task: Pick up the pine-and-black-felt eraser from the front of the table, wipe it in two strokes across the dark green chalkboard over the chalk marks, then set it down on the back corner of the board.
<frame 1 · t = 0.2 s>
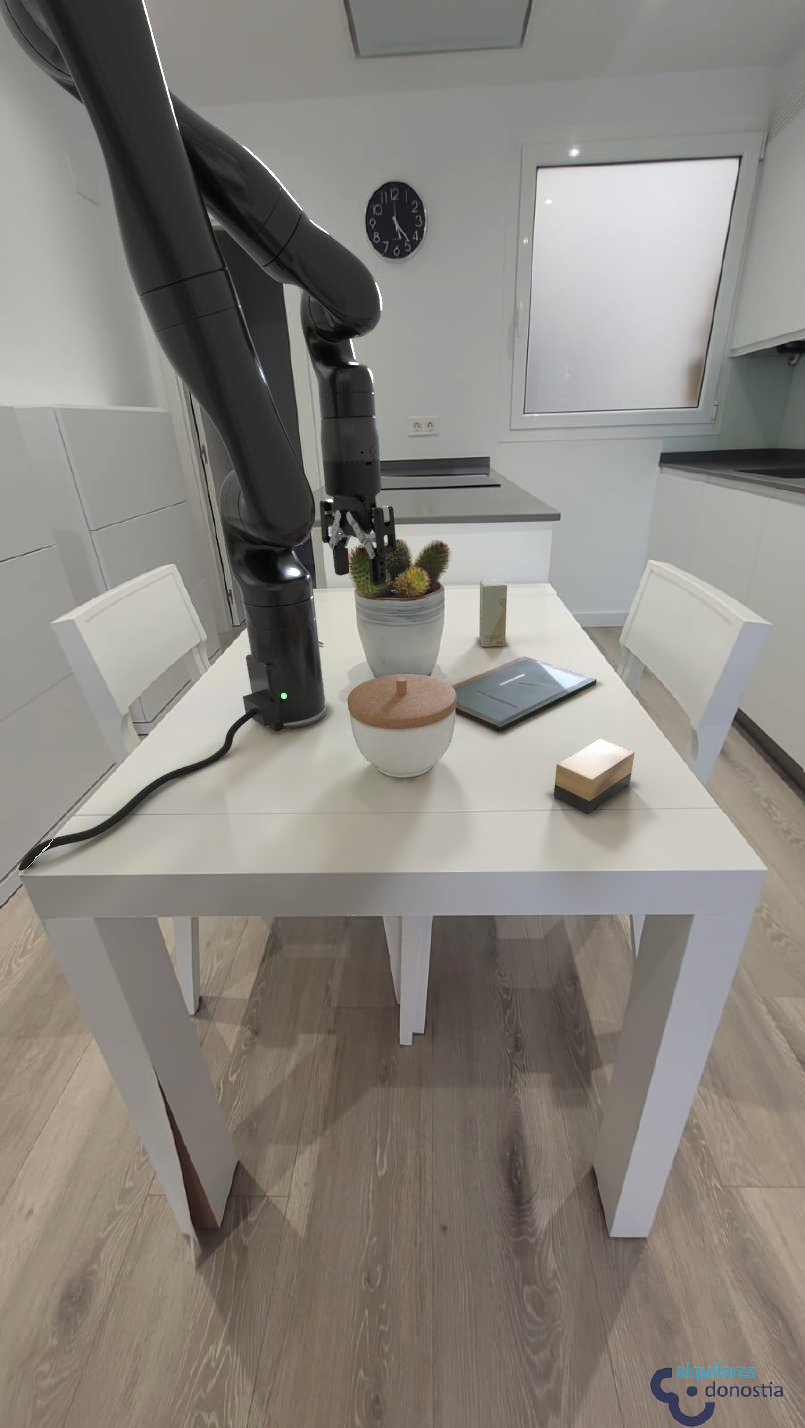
hand: (359, 579, 85), 17 cm above the table, tool pointing down, fingers open, 8 cm apart
chalkboard: (513, 691, 89), on the table
box: (491, 643, 109), on the table
lidded bowl: (404, 763, 73), on the table
eraser: (592, 790, 66), on the table
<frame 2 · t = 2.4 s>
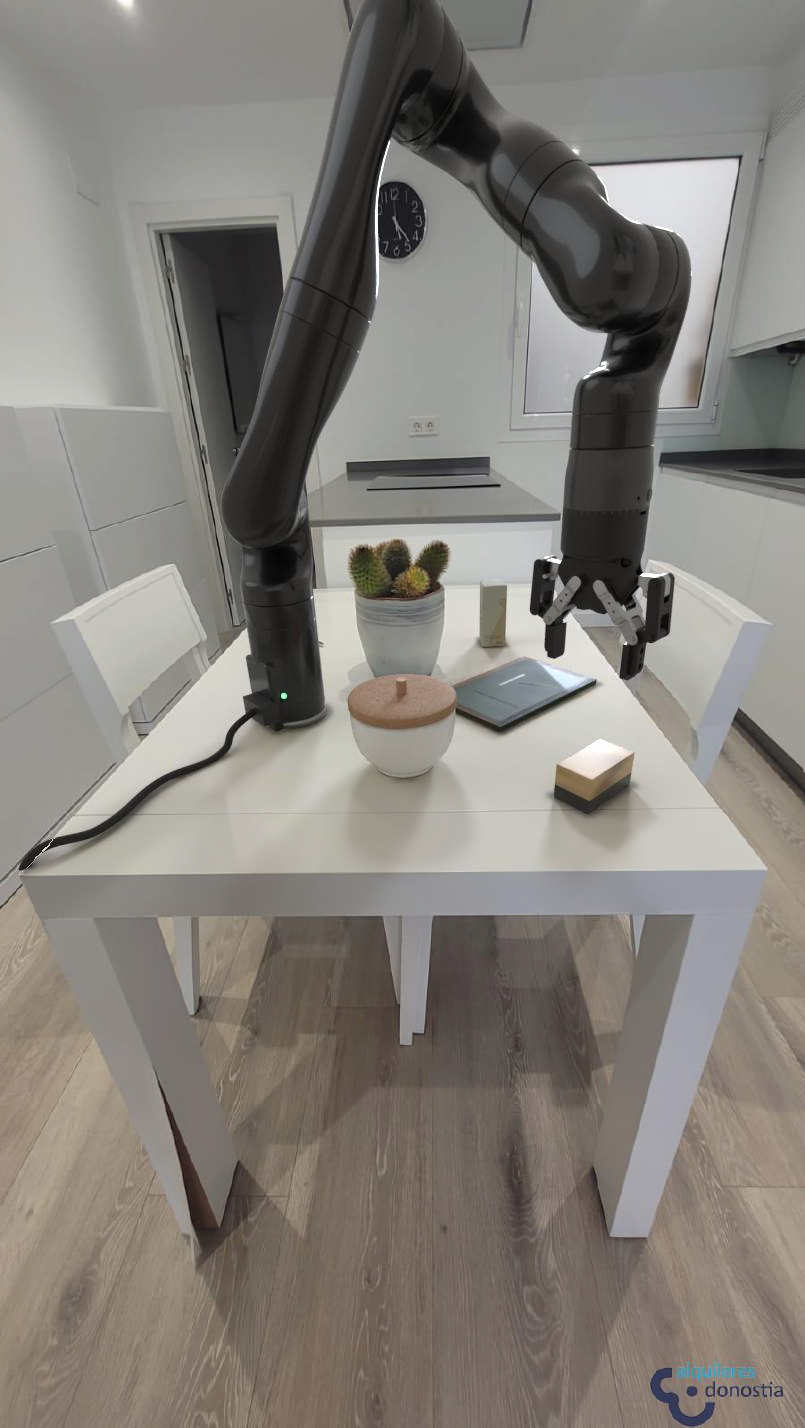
hand: (590, 666, 61), 14 cm above the table, tool pointing down, fingers open, 8 cm apart
nothing on the table moved.
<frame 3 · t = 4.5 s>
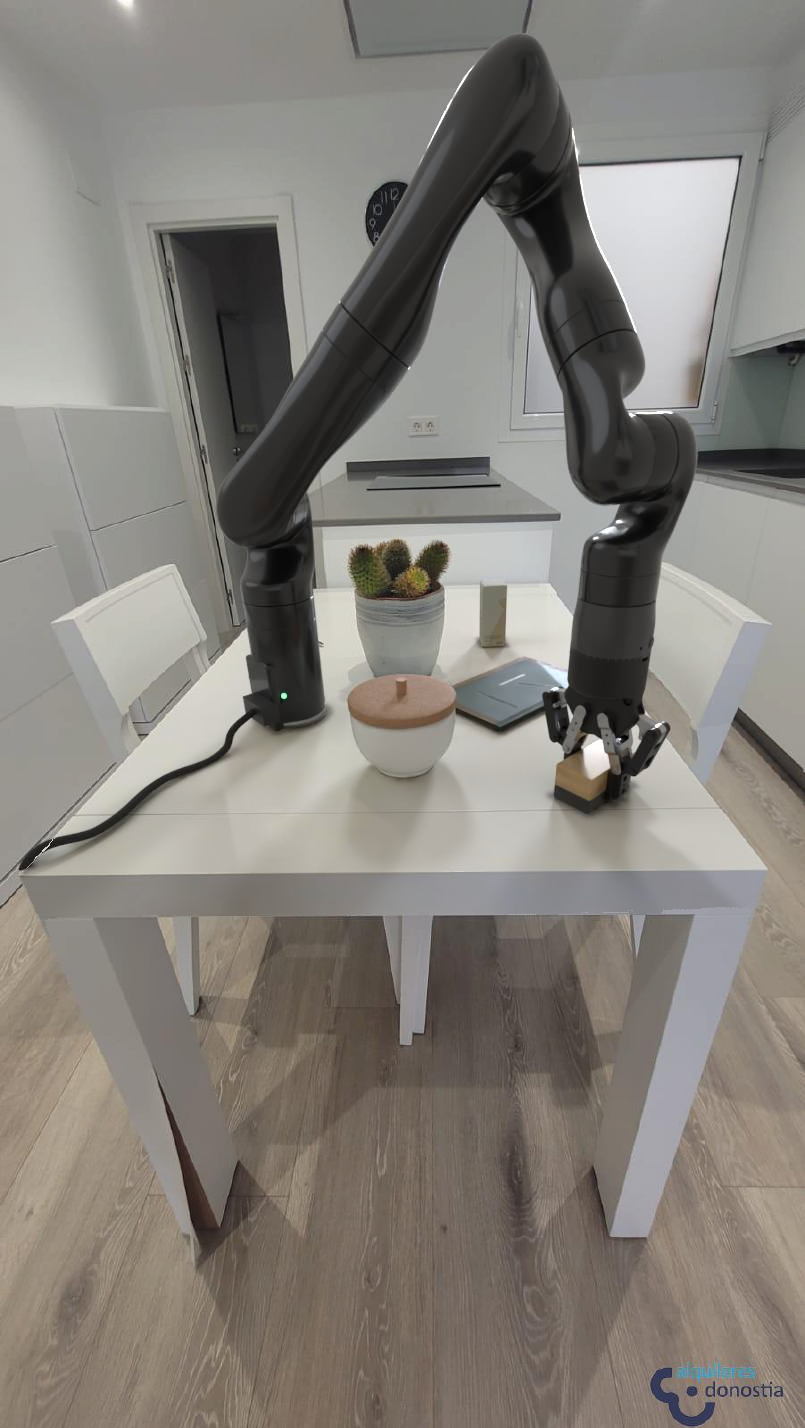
hand: (592, 788, 65), 0 cm above the table, tool pointing down, fingers closed on eraser, 4 cm apart
eraser: (592, 790, 66), on the table, touching gripper
everything else where it was.
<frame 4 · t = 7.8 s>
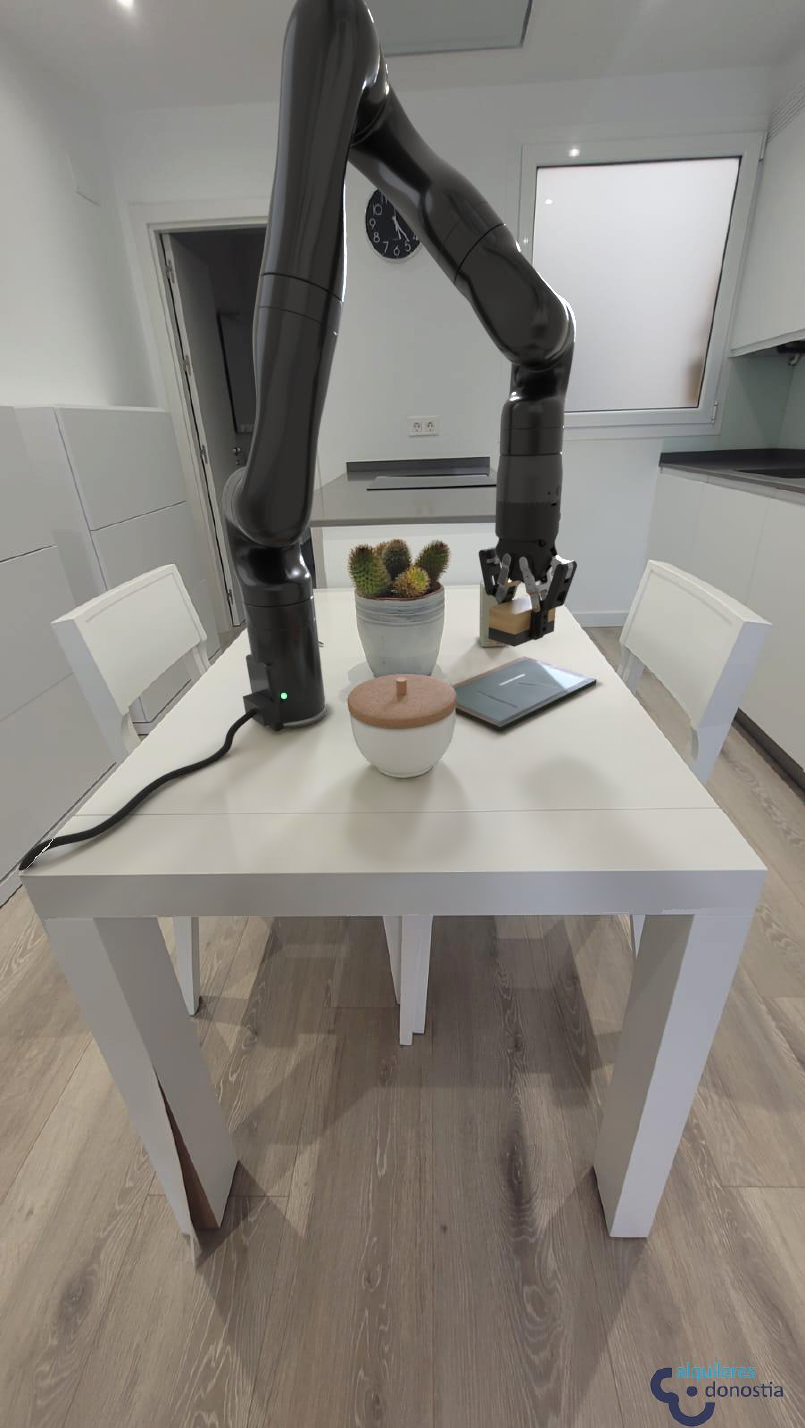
hand: (521, 633, 78), 12 cm above the table, tool pointing down, fingers closed on eraser, 4 cm apart
eraser: (521, 635, 78), point 12 cm above the table, touching gripper
everything else where it was.
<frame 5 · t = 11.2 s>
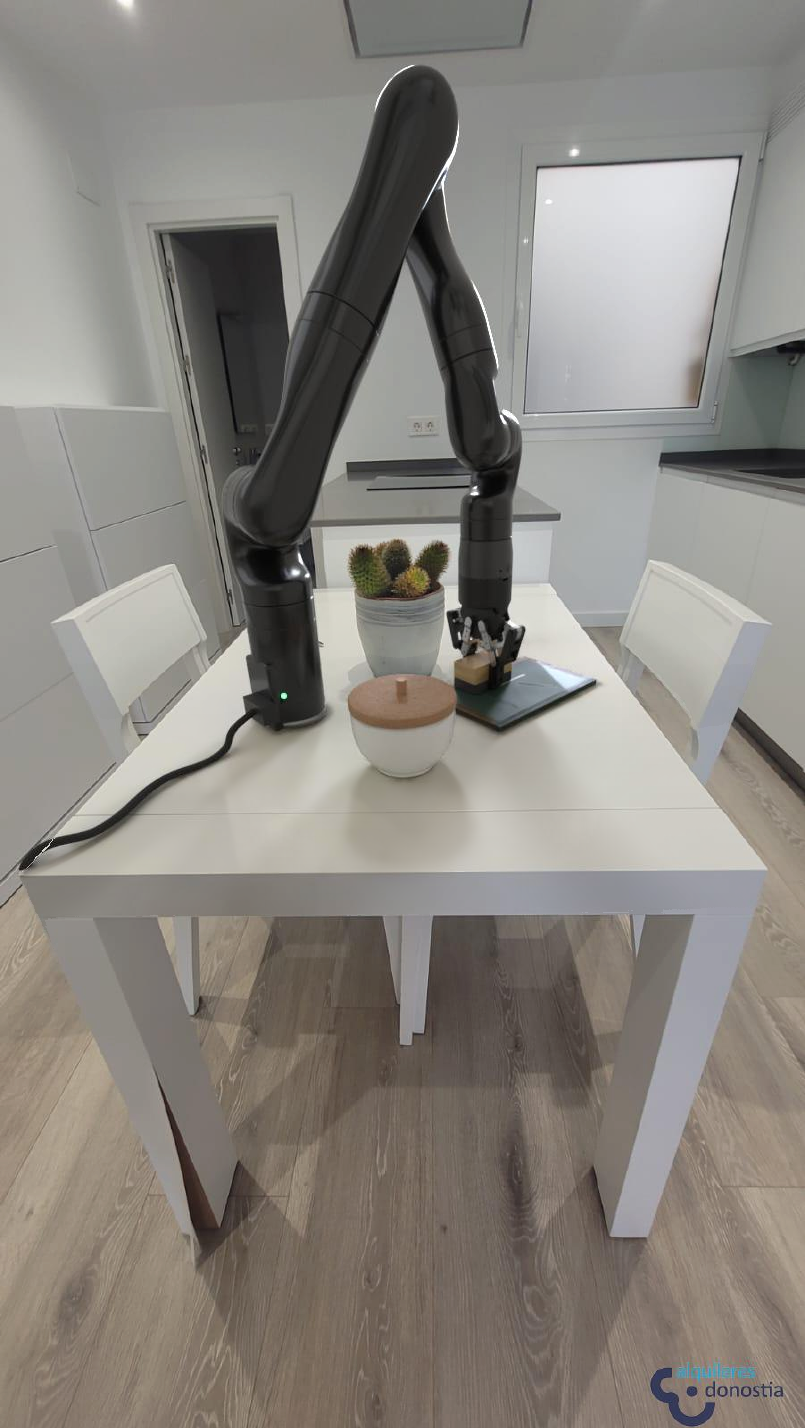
hand: (482, 681, 90), 1 cm above the table, tool pointing down, fingers closed on eraser, 4 cm apart
eraser: (482, 683, 91), point 1 cm above the table, touching gripper
everything else where it was.
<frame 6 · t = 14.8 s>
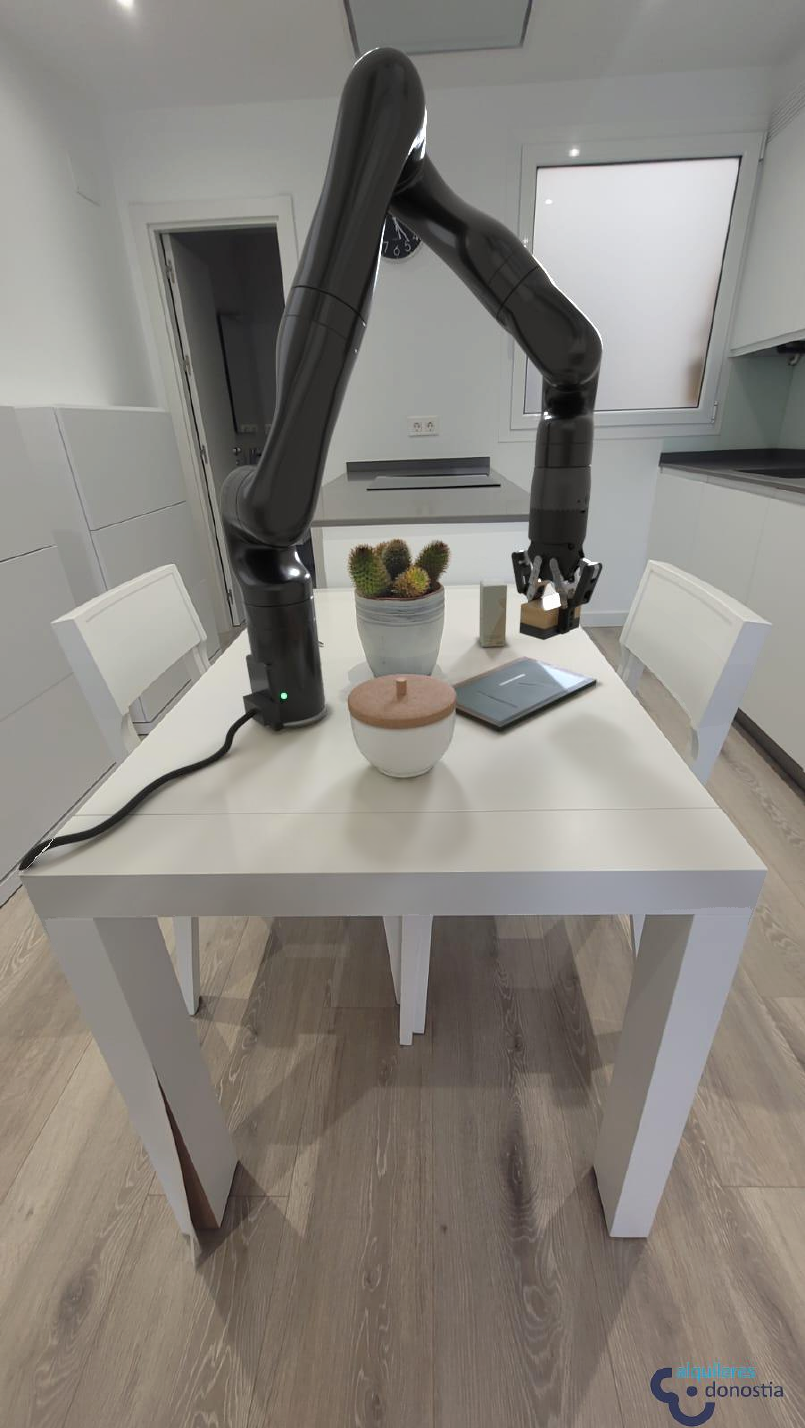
hand: (549, 628, 85), 10 cm above the table, tool pointing down, fingers closed on eraser, 4 cm apart
eraser: (549, 630, 85), point 10 cm above the table, touching gripper
everything else where it was.
when the fingers open (1 cm above the table, at t = 18.0 s): eraser stays where it is, resting on chalkboard.
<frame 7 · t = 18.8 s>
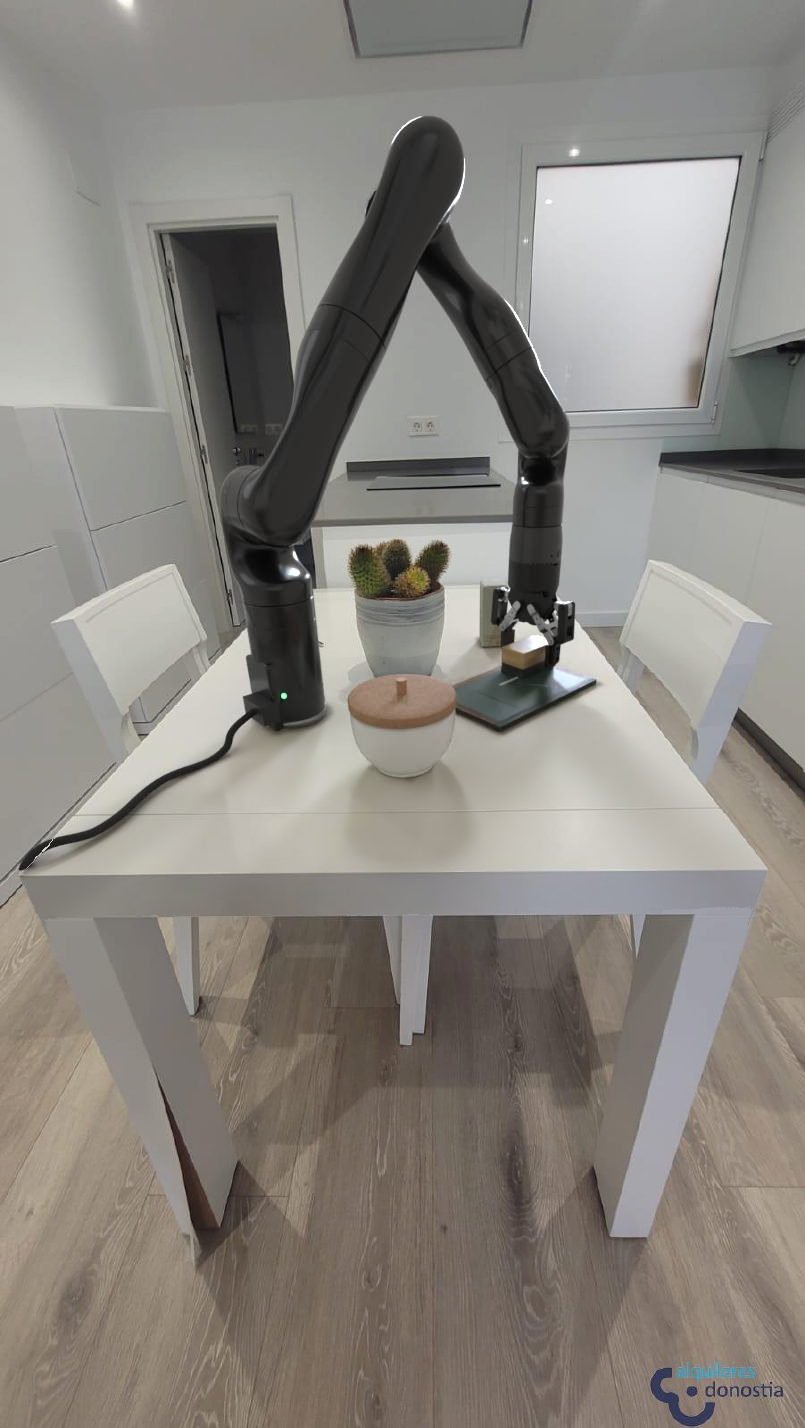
hand: (528, 659, 94), 3 cm above the table, tool pointing down, fingers open, 8 cm apart
eraser: (527, 668, 95), point 1 cm above the table, touching chalkboard
everything else where it was.
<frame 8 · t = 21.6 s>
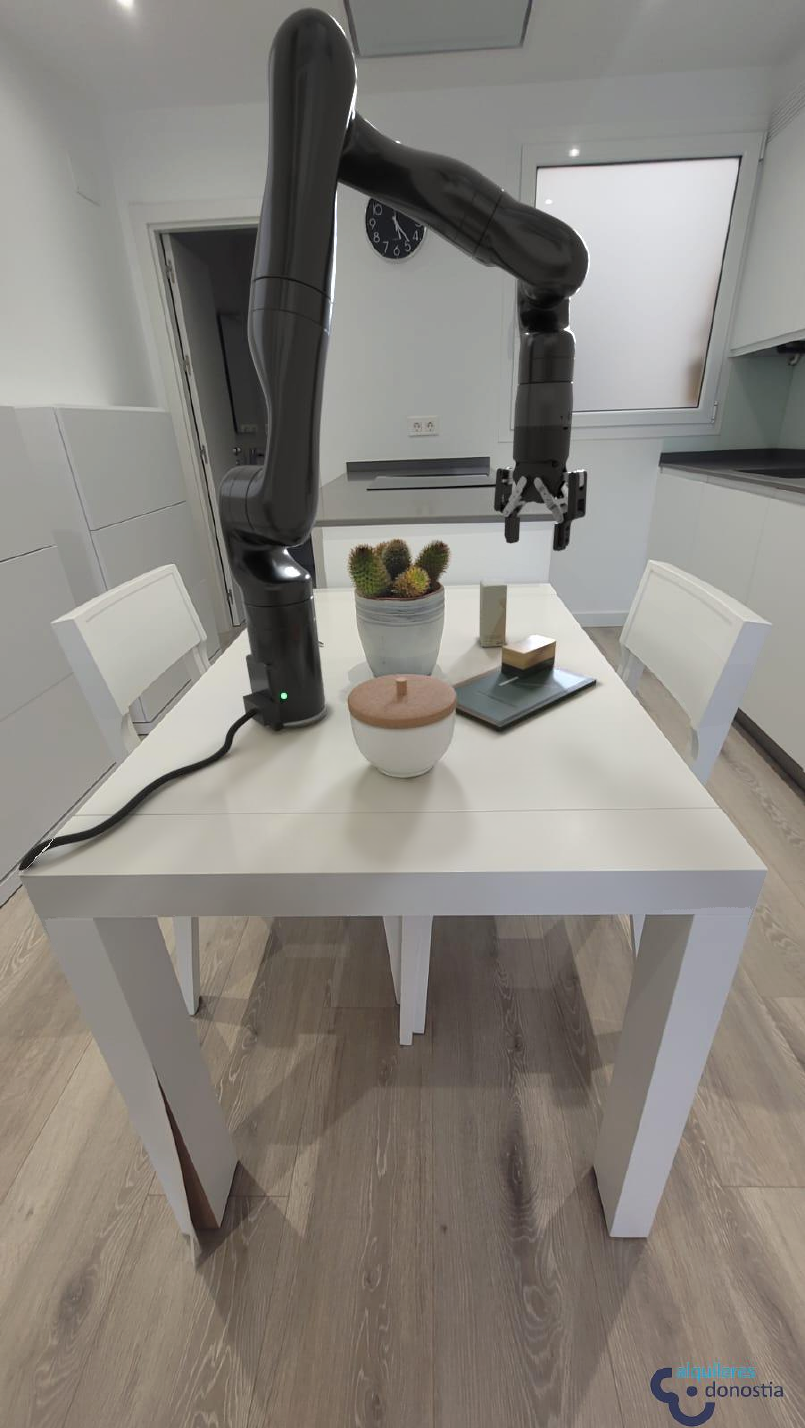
hand: (535, 546, 86), 20 cm above the table, tool pointing down, fingers open, 8 cm apart
nothing on the table moved.
at the end: eraser inside the target area on the chalkboard (1.4 cm from its centre), point 0.8 cm above the chalkboard's base; eraser tilted 0°; the gripper is holding nothing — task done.
